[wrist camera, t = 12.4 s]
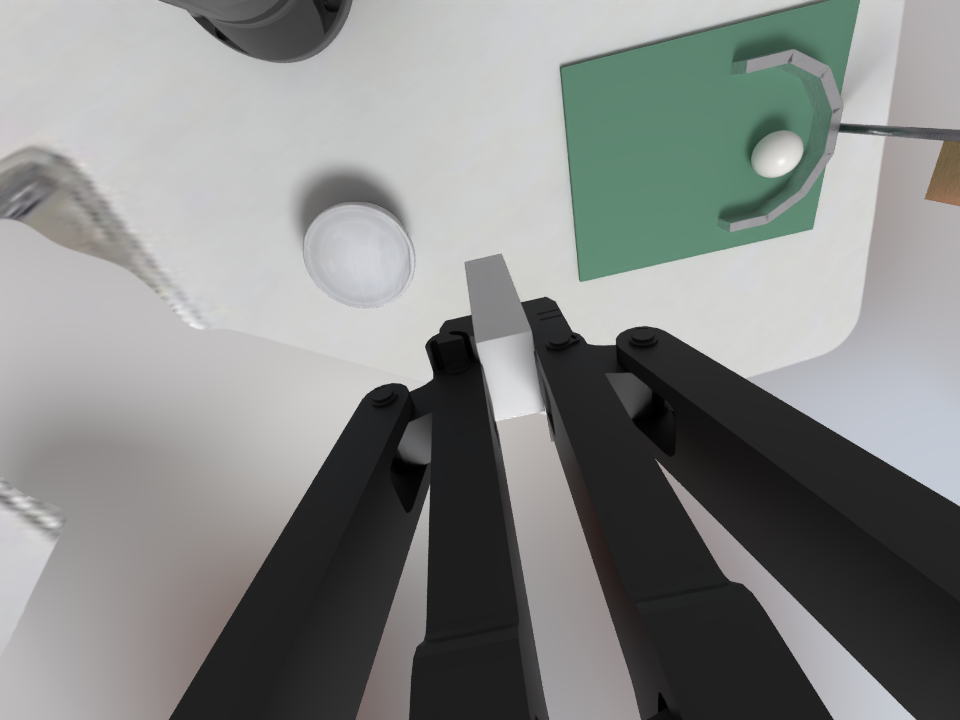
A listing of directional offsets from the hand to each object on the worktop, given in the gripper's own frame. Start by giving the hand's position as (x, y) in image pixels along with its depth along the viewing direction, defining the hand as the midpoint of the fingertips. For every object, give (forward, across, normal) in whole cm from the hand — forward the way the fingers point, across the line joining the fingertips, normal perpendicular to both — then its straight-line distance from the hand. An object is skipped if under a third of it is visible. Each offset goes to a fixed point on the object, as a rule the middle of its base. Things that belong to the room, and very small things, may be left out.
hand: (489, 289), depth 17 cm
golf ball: (+30, +32, -5) cm, 44 cm away
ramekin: (+33, -12, -5) cm, 35 cm away
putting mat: (+32, +25, -4) cm, 41 cm away
